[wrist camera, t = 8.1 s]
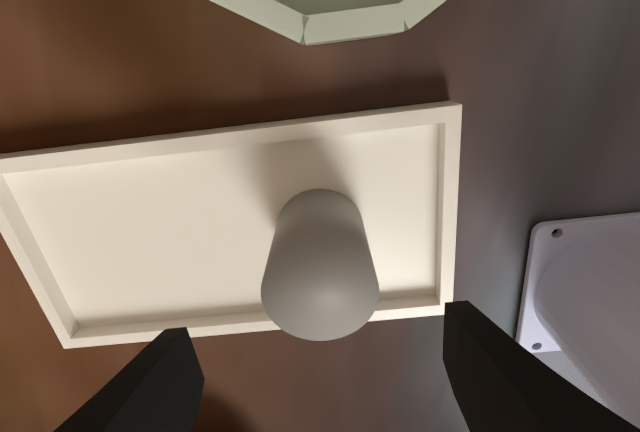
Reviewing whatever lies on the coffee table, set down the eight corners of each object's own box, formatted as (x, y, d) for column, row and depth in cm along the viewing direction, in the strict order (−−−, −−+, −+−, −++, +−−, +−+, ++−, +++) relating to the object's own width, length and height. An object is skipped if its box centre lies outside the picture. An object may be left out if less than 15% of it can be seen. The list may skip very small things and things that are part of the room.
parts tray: (449, 100, 15) (462, 104, 13) (443, 296, 19) (452, 313, 18) (-8, 154, 16) (-37, 163, 14) (80, 329, 20) (64, 348, 19)
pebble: (359, 183, 16) (376, 237, 11) (365, 261, 17) (382, 335, 13) (269, 193, 16) (249, 250, 11) (284, 269, 17) (271, 345, 13)
